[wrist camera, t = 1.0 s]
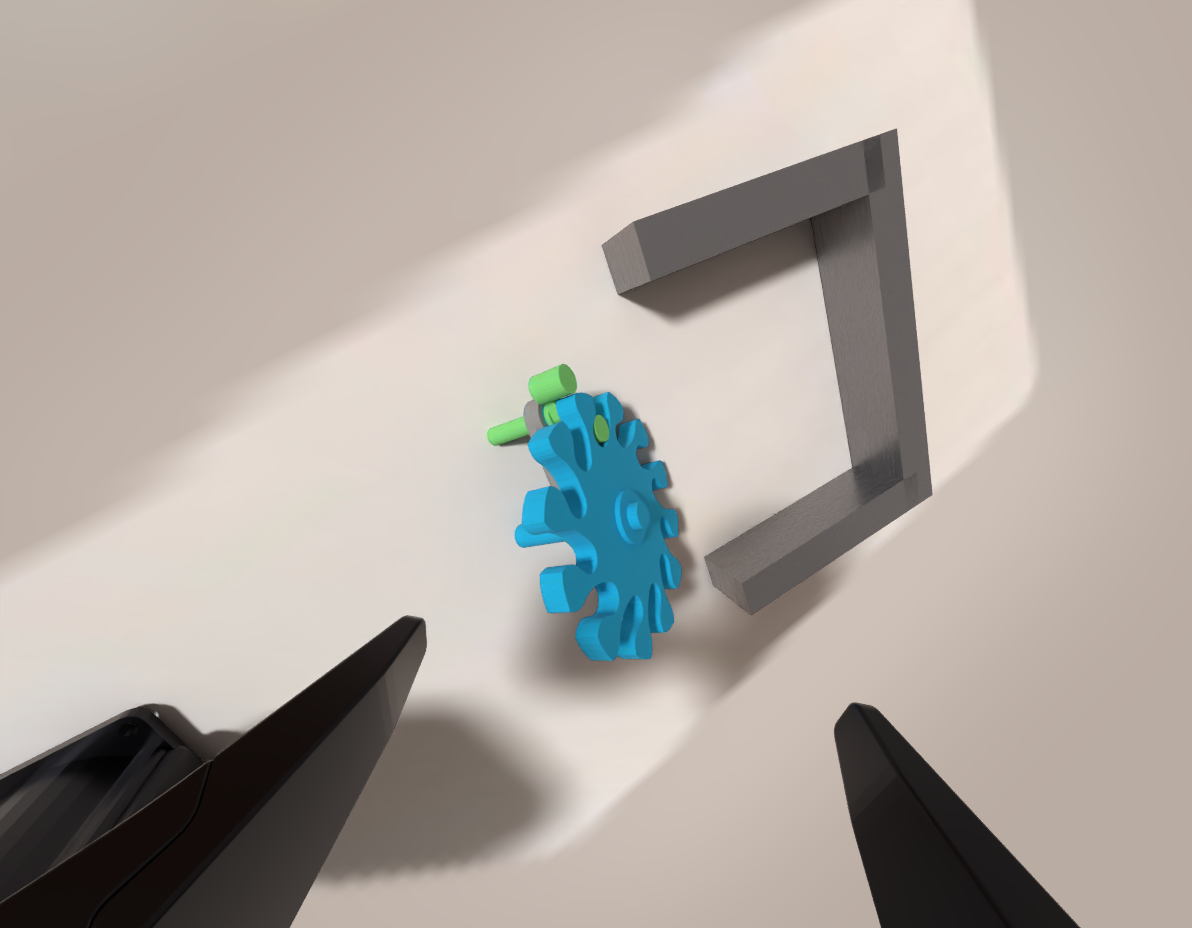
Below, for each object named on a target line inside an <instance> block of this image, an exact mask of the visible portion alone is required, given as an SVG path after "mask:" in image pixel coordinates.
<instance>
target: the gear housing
mask: <svg viewBox="0 0 1192 928" xmlns="http://www.w3.org/2000/svg"><path fill="white" fill-rule="evenodd" d="M809 218H811V221H812V227H813V233H814V239H815V245H816V251H817V257H818V263H819V269H820V275H821V281H822V287H823V293H824V299H825V305H826V311H827V317H828V323H829V329H830V335H831V341H832V347H833V353H834V359H835V365H836V371H837V377H838V383H839V389H840V395H841V401H842V407H843V413H844V419H845V425H846V431H847V437H848V443H849V449H850V455H851V461H852V467H853V468H852V469H850V470H848V471H847V472H845V473H843V474H842V475H840V476H838V477H837V478H835V479H833V480H832V481H830V482H828V483H827V484H825V485H823V486H822V487H820V488H818V489H817V490H815V491H813V492H812V493H810V494H808V495H807V496H805V497H803V498H802V499H800V500H798V501H797V502H795V503H793V504H792V505H790V506H789V507H787V508H785V509H784V510H782V511H780V512H779V513H777V514H775V515H774V516H772V517H770V518H769V519H767V520H765V521H764V522H762V523H760V524H759V525H757V526H755V527H754V528H752V529H750V530H749V531H747V532H745V533H744V534H742V535H740V536H739V537H737V538H735V539H734V540H732V541H730V542H729V543H727V544H725V545H724V546H722V547H721V548H719V549H717V550H716V551H714V552H712V553H711V554H709V555H707V556H706V557H704V558H705V561H706V564H707V567H708V570H709V573H710V576H711V579H712V582H713V585H714V587H715V588H717V589H718V590H719V591H721V592H722V593H723V594H724V595H726V596H727V597H728V598H730V599H731V600H732V601H733V602H735V603H736V604H737V605H739V606H740V607H741V608H742V609H744V610H745V611H746V612H747V613H749V614H750V615H752V614H754V613H755V612H757V611H758V610H760V609H761V608H763V607H764V606H766V605H767V604H769V603H770V602H772V601H773V600H775V599H776V598H778V597H779V596H781V595H782V594H784V593H785V592H787V591H788V590H790V589H791V588H793V587H794V586H796V585H797V584H799V583H800V582H802V581H803V580H805V579H806V578H808V577H810V576H811V575H813V574H814V573H816V572H817V571H819V570H820V569H822V568H823V567H825V566H826V565H828V564H829V563H831V562H832V561H834V560H835V559H837V558H838V557H840V556H841V555H843V554H844V553H846V552H847V551H849V550H850V549H852V548H853V547H855V546H856V545H858V544H859V543H861V542H862V541H864V540H865V539H867V538H868V537H870V536H871V535H873V534H874V533H876V532H877V531H879V530H880V529H882V528H883V527H885V526H886V525H888V524H889V523H891V522H892V521H894V520H895V519H897V518H898V517H900V516H901V515H903V514H904V513H906V512H907V511H909V510H910V509H912V508H913V507H915V506H916V505H918V504H919V503H921V502H922V501H924V500H925V499H927V498H928V497H930V496H931V495H932V485H931V475H930V465H929V455H928V444H927V434H926V424H925V413H924V403H923V393H922V383H921V372H920V362H919V352H918V341H917V331H916V321H915V310H914V300H913V290H912V280H911V269H910V259H909V249H908V238H907V228H906V218H905V208H904V197H903V187H902V177H901V166H900V156H899V146H898V136H897V129H894V130H891V131H888V132H885V133H882V134H880V135H877V136H874V137H871V138H868V139H866V140H863V141H860V142H857V143H854V144H851V145H849V146H846V147H843V148H840V149H837V150H834V151H832V152H829V153H826V154H823V155H820V156H818V157H815V158H812V159H809V160H806V161H803V162H801V163H798V164H795V165H792V166H789V167H786V168H784V169H781V170H778V171H775V172H772V173H769V174H767V175H764V176H761V177H758V178H755V179H753V180H750V181H747V182H744V183H741V184H738V185H736V186H733V187H730V188H727V189H724V190H721V191H719V192H716V193H713V194H710V195H707V196H704V197H702V198H699V199H696V200H693V201H690V202H688V203H685V204H682V205H679V206H676V207H673V208H671V209H668V210H665V211H662V212H659V213H656V214H654V215H651V216H648V217H645V218H642V219H640V220H637V221H634V222H632V223H631V224H629V225H628V226H627V227H625V228H624V229H623V230H621V231H620V232H619V233H617V234H616V235H615V236H613V237H612V238H611V239H609V240H608V241H607V242H605V243H604V244H603V245H602V248H603V251H604V254H605V257H606V260H607V263H608V266H609V269H610V272H611V275H612V278H613V281H614V284H615V287H616V290H617V293H618V294H620V293H623V292H625V291H628V290H630V289H633V288H635V287H638V286H640V285H643V284H645V283H648V282H650V281H653V280H655V279H658V278H660V277H663V276H665V275H668V274H670V273H673V272H675V271H678V270H680V269H683V268H685V267H688V266H690V265H693V264H695V263H698V262H700V261H703V260H706V259H708V258H711V257H713V256H716V255H718V254H721V253H723V252H726V251H728V250H731V249H733V248H736V247H738V246H741V245H743V244H746V243H748V242H751V241H753V240H756V239H758V238H761V237H763V236H766V235H768V234H771V233H773V232H776V231H778V230H781V229H783V228H786V227H788V226H791V225H794V224H796V223H799V222H801V221H804V220H806V219H809Z"/></svg>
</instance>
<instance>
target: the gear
mask: <svg viewBox="0 0 1192 928" xmlns="http://www.w3.org/2000/svg"><path fill="white" fill-rule="evenodd" d="M576 389H577V382H576V378H575V375H574V373H573V371H572V370H571V369H570V367H568V366H567V365H565V364H562V365H559V366H557V367H554V368H552V369H550V370H547V371H545V372H543V373H540V374H538V375H536V376H533V377H531V378H530V380H529V391H530V394H531V396H532V398H533V399H534V400H532V401H529V402H528V403H527V404H526V405H525V408H524V416H523V417H520V418H518V419H515V420H512V421H509V422H507V423H504V424H501V425H499V426H496V427H493V428H490V429H489V430H488V432H487V438H488V440H489V442H490V443H491V444H492V445H495V446H496V445H500V444H503V443H506V442H509V441H512V440H515V439H518V438H521V437H523V436H526V435H530V437H531V439H530V441H529V443H528V447H529V450H530V453H531V455H532V456H533V458H534V459H535V460H536V461H537V462H538V463H540V464H541V465H542V466H543V469H544V471H545V474H546V476H547V478H548V481H549V483H550V486H549V487H545V488H541V489H536V490H532V491H528V492H527V494H526V497H525V501H524V505H523V514H522V524H521V525H519V526H518V527H517V528H516V530H515V540H516V542H517V544H518V545H519V546H520V547H523V548H525V547H531V546H537V545H544V544H550V543H557V542H563V541H565V542H567V543H568V544H569V545H570V546H571V547H572V548H573V550H574V552H575V555H576V565H573V564H572V565H564V566H556V567H548V568H546V569H544V570H543V571H542V572H541V574H540V586H541V592H542V596H543V600H544V603H545V606H546V610H547V613H566V612H576V611H578V610H580V609H581V607H582V606H583V604H584V602H585V600H586V597H587V596H588V594H589V593H590V591H591V590H592V589H593V588H594V587H595V588H596V590H597V593H598V600H599V601H598V608H597V611H596V613H595V614H594V615H592V616H589V617H585V618H583V619H582V620H581V621H580V622H579V624H578V627H577V630H576V636H575V638H576V640H577V643H578V645H579V647H580V648H581V650H582V651H583V652H584V654H585V655H586V656H587V657H588V658H589V659H590V660H603V661H613V660H614V659H615V658H616V656H618V657H619V658H622V659H651V656H652V638H651V634H650V633H664V632H667V631H668V630H669V629H670V628H671V626H672V625H673V623H674V615H673V611H672V607H671V605H670V603H669V602H668V599H667V597H666V594H665V591H664V589H676V588H678V587H679V584H680V580H681V573H682V569H681V565H680V563H679V561H678V560H677V559H676V558H675V557H674V556H673V555H672V554H671V553H670V551H669V549H668V548H667V546H666V543H665V541H664V539H665V538H672V537H678V516H677V513H676V511H675V510H674V509H668V510H667V509H665V508H663V507H662V506H661V505H660V503H659V502H658V501H657V499H656V498H655V496H654V494H653V491H652V490H657V489H662V488H666V487H667V486H668V482H667V476H666V472H665V468H664V465H663V462H662V461H660V460H659V461H655V462H651V463H647V464H643V465H642V466H640V464H639V462H638V459H637V455H636V450H637V449H641V448H644V447H647V446H648V444H649V438H648V435H647V433H646V430H645V428H644V426H643V424H642V422H641V421H640V419H636V420H632V421H629V422H626V423H623V424H621V425H620V427H619V436H618V440H617V437H616V425H617V424H618V423H620V422H621V421H622V419H623V407H622V405H621V403H620V402H619V401H618V400H617V398H616V397H615V396H613V395H612V394H611V393H610V392H607V393H604V394H601V395H598V396H595V397H593V398H592V397H591V396H590V395H588V394H586V393H575V391H576ZM573 393H575V394H573ZM570 394H572V395H570ZM568 395H570V396H568ZM565 396H567V397H565ZM562 397H564V398H562ZM561 398H562V399H561ZM622 618H623V620H622Z"/></svg>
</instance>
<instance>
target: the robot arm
mask: <svg viewBox="0 0 1192 928" xmlns="http://www.w3.org/2000/svg"><path fill="white" fill-rule="evenodd" d="M426 647H427V638H426V624H425V620H424V619H423V618H419V617H414V616H409V615H407V616H403V617H402V618H400V619H399V620H397V621H396V622H395V623H393V624H392V625H391V626H389V627H388V628H387V629H385V630H384V631H383V632H381V633H380V634H379V635H377V636H376V637H374V638H373V639H372V640H370V641H369V642H368V643H366V644H365V645H364V646H362V647H361V648H360V649H358V650H357V651H356V652H354V653H353V654H352V655H350V656H349V657H347V658H346V659H345V660H343V661H342V662H341V663H339V664H338V665H337V666H335V667H334V668H333V669H331V670H330V671H329V672H327V673H326V674H325V675H323V676H322V677H321V678H319V679H318V680H316V681H315V682H314V683H312V684H311V685H310V686H308V687H307V688H306V689H304V690H303V691H302V692H300V693H299V694H298V695H296V696H295V697H294V698H292V699H291V700H290V701H288V702H287V703H285V704H284V705H283V706H281V707H280V708H279V709H277V710H276V711H275V712H273V713H272V714H271V715H269V716H268V717H267V718H265V719H264V720H263V721H261V722H260V723H258V724H257V725H256V726H254V727H253V728H252V729H250V730H249V731H248V732H246V733H245V734H244V735H242V736H241V737H240V738H238V739H237V740H236V741H234V742H233V743H232V744H230V745H229V746H227V747H226V748H225V749H223V750H222V751H221V752H219V753H218V754H217V755H215V757H214V758H213V761H212V760H209V761H207V762H206V763H204V762H203V761H202V760H201V759H200V758H199V757H198V756H197V755H196V754H195V753H194V752H193V751H192V750H191V749H190V748H189V747H187V746H186V745H185V744H184V743H183V742H182V741H181V740H180V739H179V738H178V737H177V736H176V735H175V734H174V733H173V732H172V731H171V730H170V729H169V728H168V727H167V726H166V725H165V724H164V723H163V722H162V721H161V720H160V719H159V718H158V717H156V716H155V715H154V714H153V713H152V712H151V711H149V710H148V709H144V708H133V709H130V710H127V711H125V712H123V713H121V714H119V715H117V716H115V717H113V718H111V719H109V720H107V721H105V722H103V723H101V724H99V725H97V726H95V727H93V728H91V729H89V730H87V731H85V732H83V733H81V734H79V735H77V736H75V737H73V738H71V739H69V740H67V741H65V742H64V743H62V744H60V745H58V746H56V747H54V748H52V749H50V750H48V751H46V752H44V753H42V754H40V755H38V756H36V757H34V758H32V759H30V760H28V761H26V762H24V763H22V764H20V765H18V766H16V767H14V768H12V769H10V770H8V771H6V772H4V773H2V774H0V928H290V926H291V924H292V922H293V920H294V919H295V916H296V915H297V912H298V911H299V909H300V907H301V905H302V903H303V901H304V900H305V898H306V896H307V894H308V892H309V890H310V888H311V886H312V884H313V882H314V881H315V879H316V877H317V875H318V873H319V871H320V869H321V867H322V865H323V863H324V862H325V860H326V858H327V856H328V854H329V852H330V850H331V848H332V846H333V845H334V843H335V841H336V839H337V837H338V835H339V833H340V831H341V829H342V827H343V826H344V824H345V822H346V820H347V818H348V816H349V814H350V812H351V810H352V808H353V807H354V805H355V803H356V801H357V799H358V797H359V795H360V793H361V791H362V790H363V788H364V786H365V784H366V782H367V780H368V778H369V776H370V774H371V772H372V771H373V769H374V767H375V765H376V763H377V761H378V759H379V757H380V755H381V753H382V752H383V750H384V748H385V746H386V744H387V742H388V740H389V738H390V736H391V734H392V732H393V730H394V728H395V725H396V723H397V721H398V718H399V716H400V714H401V711H402V709H403V706H404V704H405V701H406V699H407V696H408V694H409V692H410V689H411V687H412V684H413V682H414V679H415V677H416V674H417V672H418V670H419V667H420V665H421V662H422V660H423V657H424V655H425V652H426ZM127 723H134V724H136V725H138V727H132V726H130V725H128V724H127ZM834 737H835V742H836V747H837V752H838V758H839V763H840V768H841V773H842V779H843V783H844V789H845V794H846V799H847V804H848V809H849V814H850V818H851V823H852V827H853V830H854V834H855V838H856V841H857V845H858V848H859V851H860V855H861V859H862V862H863V866H864V869H865V873H866V876H867V880H868V883H869V886H870V890H871V894H872V897H873V901H874V904H875V907H876V911H877V915H878V918H879V922H880V925H881V928H1080V927H1079V926H1078V925H1077V924H1076V922H1075V921H1074V920H1073V919H1072V918H1071V917H1070V916H1069V915H1068V914H1067V913H1066V912H1065V911H1064V910H1063V909H1062V907H1061V906H1060V905H1059V904H1058V903H1057V902H1056V901H1055V900H1054V899H1053V898H1052V897H1051V896H1050V895H1049V893H1048V892H1047V891H1045V889H1044V888H1043V887H1042V886H1041V885H1040V884H1039V883H1038V882H1037V880H1035V878H1034V877H1033V876H1032V875H1031V874H1030V873H1029V872H1028V871H1027V870H1026V869H1025V868H1024V866H1022V864H1021V863H1020V862H1019V861H1018V860H1017V859H1016V858H1015V857H1014V856H1013V855H1012V854H1011V852H1010V851H1009V850H1008V849H1007V848H1006V847H1005V846H1004V845H1003V844H1002V843H1001V842H1000V841H999V840H998V838H997V837H996V836H995V835H994V834H993V833H992V832H991V831H990V830H989V829H988V828H987V827H986V826H985V824H983V822H982V821H981V820H980V819H979V818H978V817H977V816H976V815H975V814H974V813H973V812H972V810H971V809H970V808H969V807H968V806H967V805H966V804H965V803H964V802H963V801H962V800H961V799H960V798H959V796H958V795H957V794H956V793H955V792H954V791H953V790H952V789H951V788H950V787H949V786H948V785H947V784H946V782H945V781H944V780H943V779H942V778H941V777H940V776H939V775H938V774H937V773H936V772H935V771H934V770H933V768H932V767H931V766H930V765H929V764H928V763H927V762H926V761H925V760H924V759H923V758H922V757H921V756H920V754H919V753H918V752H916V750H915V749H914V748H913V747H912V746H911V745H910V744H909V743H908V742H907V740H906V739H905V738H904V737H903V736H902V735H901V734H900V733H899V732H898V731H897V730H896V729H895V728H894V726H892V724H891V723H890V722H889V721H888V720H887V719H886V718H885V717H884V716H883V715H882V714H881V713H880V711H879V710H877V709H876V708H875V707H873V706H870V705H866V704H860V703H851V704H850V705H849V706H848V707H847V709H846V710H845V711H844V713H843V714H842V715H841V717H840V718H839V719H838V721H837V722H836V724H835V728H834Z"/></svg>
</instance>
